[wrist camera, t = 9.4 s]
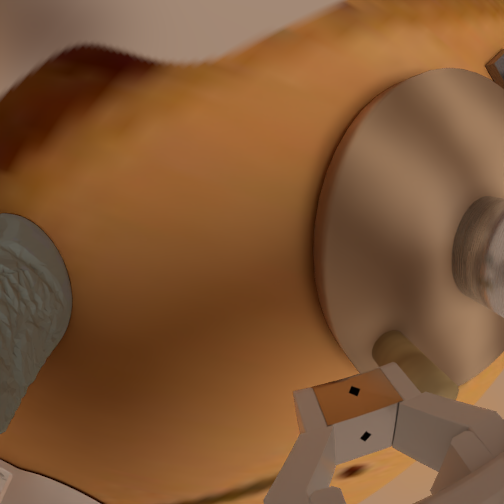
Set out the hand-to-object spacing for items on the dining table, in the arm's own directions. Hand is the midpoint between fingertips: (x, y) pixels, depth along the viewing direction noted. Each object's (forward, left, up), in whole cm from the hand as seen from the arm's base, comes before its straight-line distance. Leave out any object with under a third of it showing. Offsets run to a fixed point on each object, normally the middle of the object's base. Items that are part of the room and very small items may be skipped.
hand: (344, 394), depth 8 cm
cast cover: (+10, -6, -6) cm, 13 cm away
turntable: (+10, -5, -9) cm, 14 cm away
